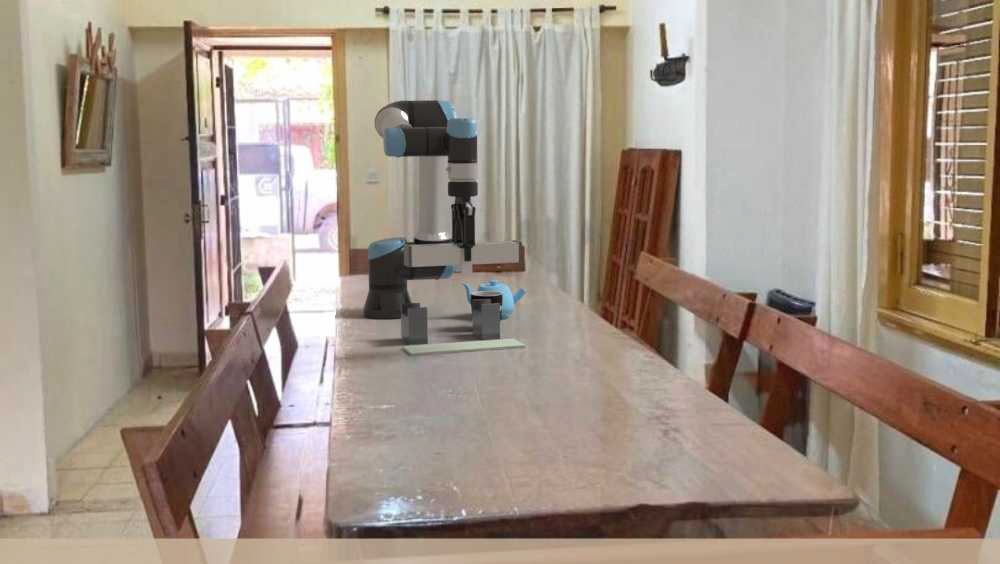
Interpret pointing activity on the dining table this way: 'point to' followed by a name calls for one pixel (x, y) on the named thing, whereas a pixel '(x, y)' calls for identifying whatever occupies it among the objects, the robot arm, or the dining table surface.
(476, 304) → the post
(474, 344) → the mat
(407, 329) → the post
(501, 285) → the teapot
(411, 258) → the rail
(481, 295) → the mug
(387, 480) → the dining table surface
